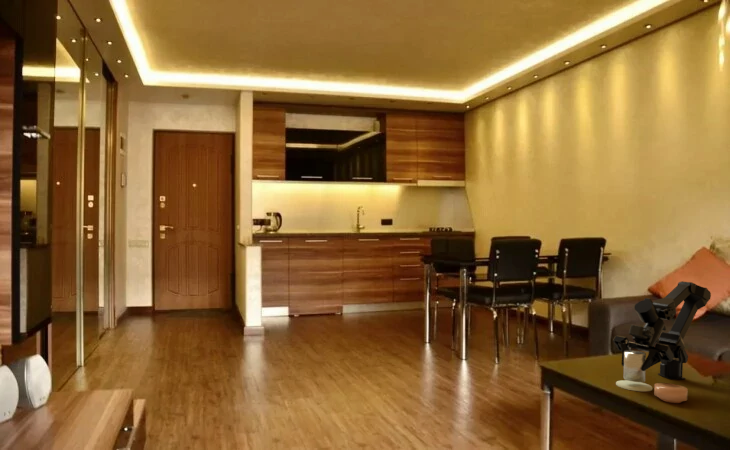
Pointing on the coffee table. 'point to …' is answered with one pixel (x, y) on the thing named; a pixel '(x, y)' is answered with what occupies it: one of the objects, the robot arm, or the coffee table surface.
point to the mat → (634, 385)
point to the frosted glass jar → (634, 366)
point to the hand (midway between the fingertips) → (632, 367)
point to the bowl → (670, 392)
